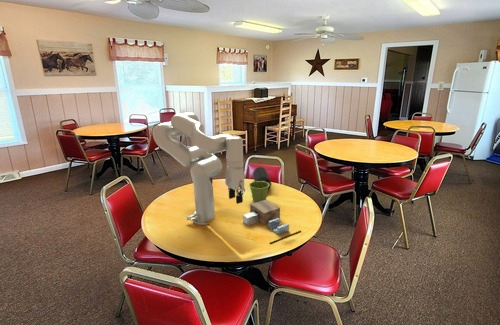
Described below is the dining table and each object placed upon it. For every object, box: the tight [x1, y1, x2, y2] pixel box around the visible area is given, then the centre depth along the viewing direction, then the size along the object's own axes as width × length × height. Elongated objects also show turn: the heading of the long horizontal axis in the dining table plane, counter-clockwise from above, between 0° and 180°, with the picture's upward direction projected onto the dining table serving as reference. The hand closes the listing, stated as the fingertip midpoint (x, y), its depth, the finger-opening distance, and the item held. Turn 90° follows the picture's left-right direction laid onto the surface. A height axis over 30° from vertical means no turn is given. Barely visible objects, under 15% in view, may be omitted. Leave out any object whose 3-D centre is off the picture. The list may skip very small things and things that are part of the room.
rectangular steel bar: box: [242, 211, 260, 227], centre depth 146 cm, size 18×4×4 cm, turn 124°
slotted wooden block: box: [249, 199, 281, 226], centre depth 147 cm, size 10×12×8 cm
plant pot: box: [248, 180, 270, 203], centre depth 167 cm, size 12×12×11 cm
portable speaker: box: [252, 166, 272, 191], centre depth 193 cm, size 26×10×10 cm, turn 4°
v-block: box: [267, 218, 302, 245], centre depth 136 cm, size 18×12×5 cm, turn 124°
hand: (235, 200), depth 135 cm, fingers open, 5 cm apart
